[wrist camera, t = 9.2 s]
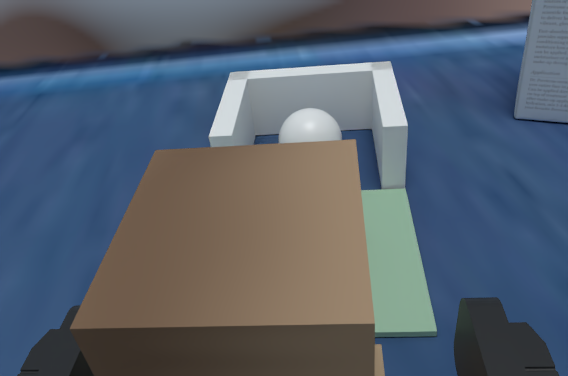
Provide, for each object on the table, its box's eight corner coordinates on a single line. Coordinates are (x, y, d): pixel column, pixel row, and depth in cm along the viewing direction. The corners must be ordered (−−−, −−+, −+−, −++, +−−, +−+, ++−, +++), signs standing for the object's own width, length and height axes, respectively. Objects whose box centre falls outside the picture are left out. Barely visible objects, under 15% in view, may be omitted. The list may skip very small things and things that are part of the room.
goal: (388, 118, 34) (390, 61, 32) (404, 190, 28) (407, 125, 25) (239, 127, 35) (230, 72, 33) (221, 198, 29) (208, 136, 27)
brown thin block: (355, 235, 25) (350, -27, 18) (389, 640, 13) (411, 322, 6) (264, 238, 25) (224, -16, 18) (214, 632, 13) (38, 329, 6)
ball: (340, 115, 31) (340, 98, 28) (343, 174, 31) (343, 163, 27) (281, 119, 32) (274, 102, 28) (283, 177, 31) (275, 167, 28)
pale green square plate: (405, 193, 28) (405, 188, 27) (436, 336, 20) (437, 331, 20) (221, 201, 29) (220, 196, 29) (186, 339, 21) (184, 335, 21)
